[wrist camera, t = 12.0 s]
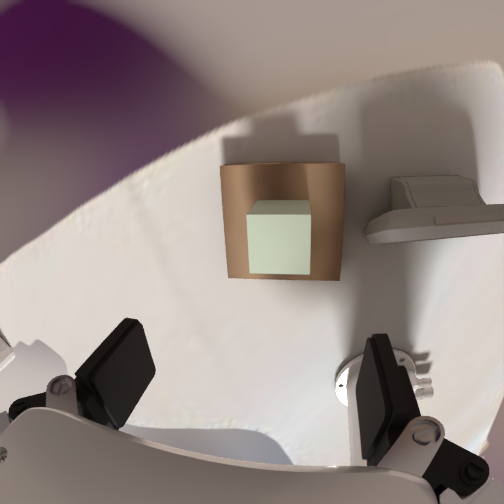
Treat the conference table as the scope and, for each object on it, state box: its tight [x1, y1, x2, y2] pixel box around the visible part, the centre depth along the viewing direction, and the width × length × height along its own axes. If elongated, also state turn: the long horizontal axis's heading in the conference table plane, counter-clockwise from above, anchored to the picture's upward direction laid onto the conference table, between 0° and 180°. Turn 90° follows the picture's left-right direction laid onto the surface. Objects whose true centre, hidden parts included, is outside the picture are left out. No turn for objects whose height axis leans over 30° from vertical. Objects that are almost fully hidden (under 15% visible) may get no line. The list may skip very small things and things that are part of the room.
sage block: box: [246, 200, 311, 275], centre depth 26 cm, size 5×5×6 cm
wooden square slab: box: [220, 162, 345, 281], centre depth 30 cm, size 12×12×3 cm
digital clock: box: [365, 176, 504, 244], centre depth 23 cm, size 16×9×11 cm, turn 87°
